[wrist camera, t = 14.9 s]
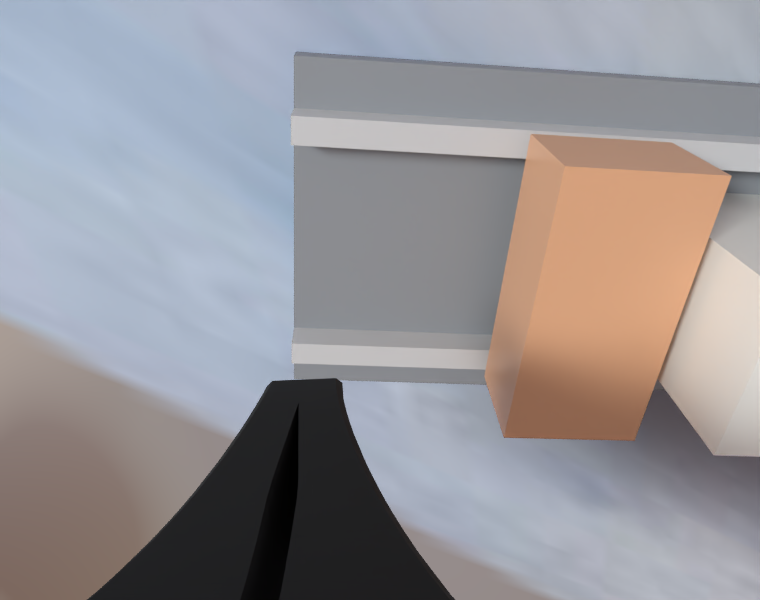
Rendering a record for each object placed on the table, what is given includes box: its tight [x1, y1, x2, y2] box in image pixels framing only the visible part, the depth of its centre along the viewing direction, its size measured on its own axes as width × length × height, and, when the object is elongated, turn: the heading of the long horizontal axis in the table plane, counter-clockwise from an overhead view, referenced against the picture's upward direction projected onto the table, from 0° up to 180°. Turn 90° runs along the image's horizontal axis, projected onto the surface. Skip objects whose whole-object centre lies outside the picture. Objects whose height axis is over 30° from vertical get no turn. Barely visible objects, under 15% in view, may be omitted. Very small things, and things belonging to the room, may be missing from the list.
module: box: [657, 193, 760, 457], centre depth 17 cm, size 4×4×7 cm
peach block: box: [484, 134, 732, 441], centre depth 17 cm, size 4×8×3 cm, turn 176°
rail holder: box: [291, 52, 760, 390], centre depth 18 cm, size 20×11×6 cm, turn 86°
